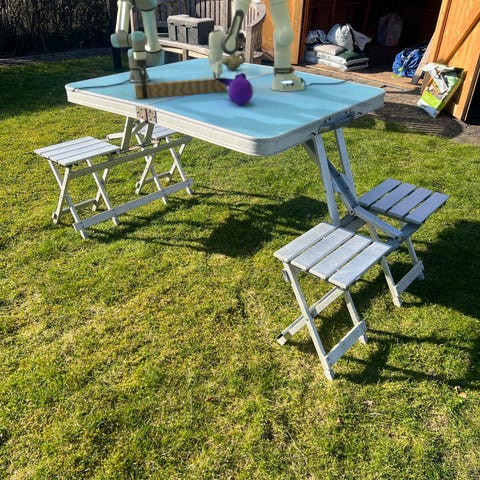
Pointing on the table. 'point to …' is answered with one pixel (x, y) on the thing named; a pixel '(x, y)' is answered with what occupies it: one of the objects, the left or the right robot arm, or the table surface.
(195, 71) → the table surface
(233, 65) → the teapot
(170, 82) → the bar
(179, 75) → the table surface
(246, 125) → the table surface
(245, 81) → the toy
